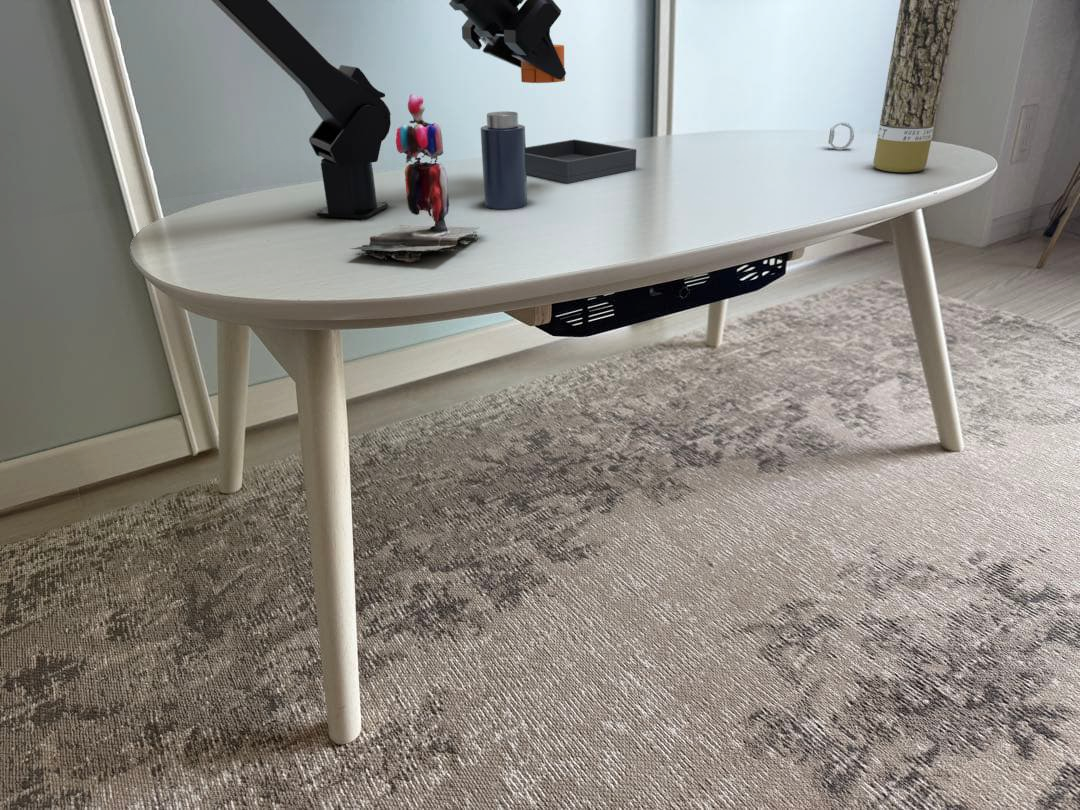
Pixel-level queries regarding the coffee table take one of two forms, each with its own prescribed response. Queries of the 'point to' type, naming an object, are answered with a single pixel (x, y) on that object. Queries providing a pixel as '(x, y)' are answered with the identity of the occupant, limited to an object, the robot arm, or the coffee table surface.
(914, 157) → the paper tube
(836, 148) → the grey ring
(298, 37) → the robot arm
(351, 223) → the coffee table surface
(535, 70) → the spray can cap
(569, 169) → the tray
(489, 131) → the spray can
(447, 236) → the statue
